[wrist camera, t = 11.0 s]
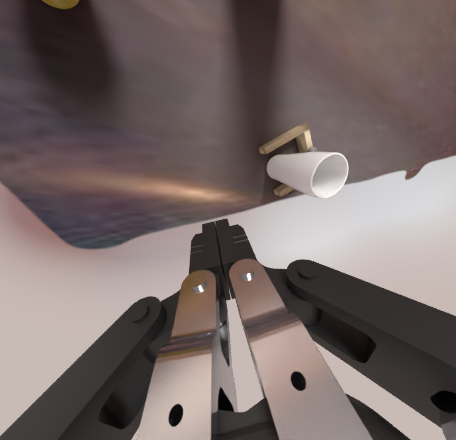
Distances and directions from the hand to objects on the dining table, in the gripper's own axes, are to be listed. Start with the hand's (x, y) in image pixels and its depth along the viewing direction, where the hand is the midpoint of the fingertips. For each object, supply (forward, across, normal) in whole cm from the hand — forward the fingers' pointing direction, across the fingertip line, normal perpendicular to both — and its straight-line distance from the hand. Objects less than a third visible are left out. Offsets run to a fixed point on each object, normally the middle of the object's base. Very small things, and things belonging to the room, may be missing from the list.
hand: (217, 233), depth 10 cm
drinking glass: (+28, -15, +5) cm, 33 cm away
